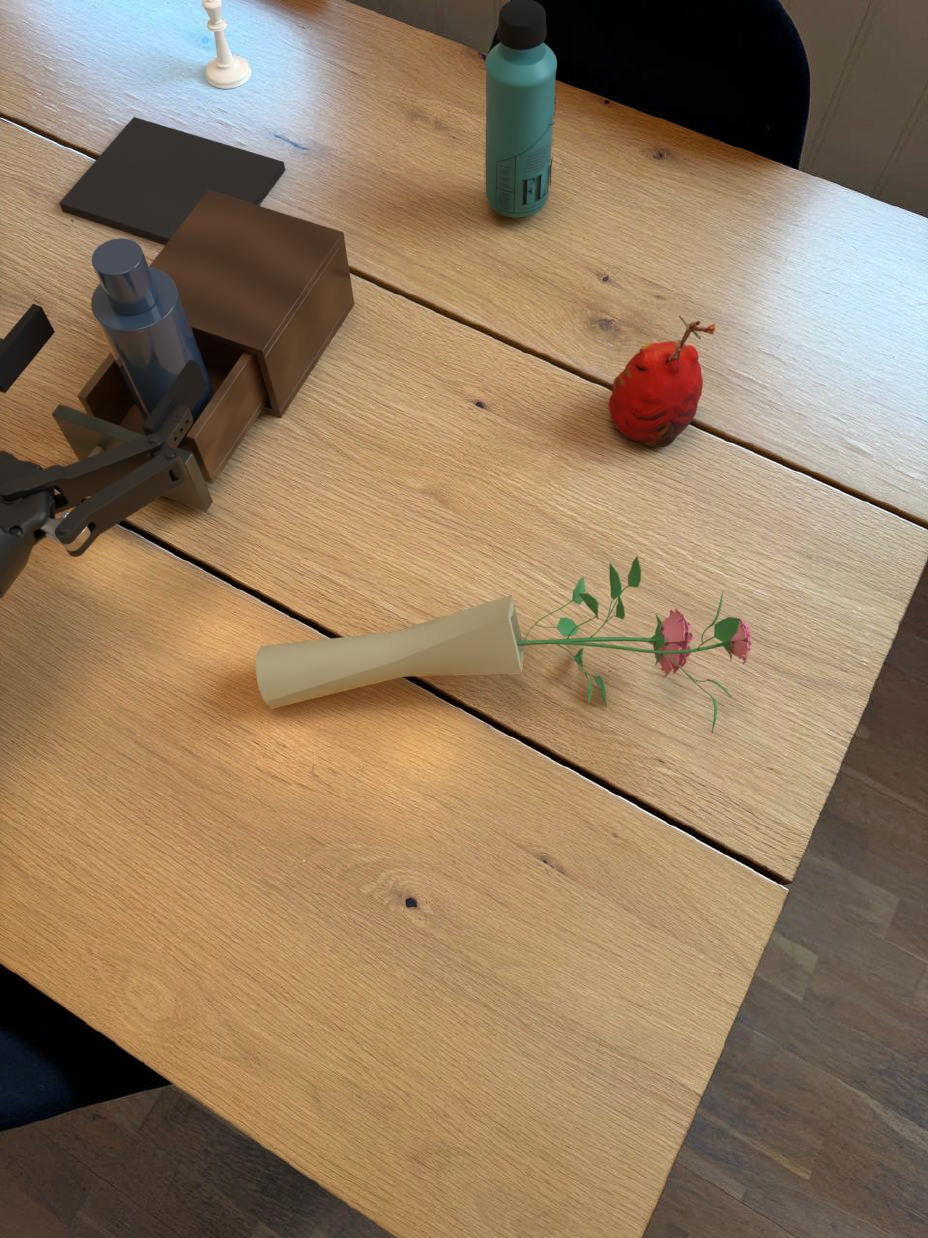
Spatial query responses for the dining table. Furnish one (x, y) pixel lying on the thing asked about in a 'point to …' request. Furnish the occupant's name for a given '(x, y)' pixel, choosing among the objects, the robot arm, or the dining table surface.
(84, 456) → the drawer
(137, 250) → the blue bottle
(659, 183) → the dining table surface
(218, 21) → the chess piece
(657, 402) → the red fruit with stem
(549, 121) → the beverage bottle
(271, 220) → the cabinet
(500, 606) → the flower vase
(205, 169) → the mat
